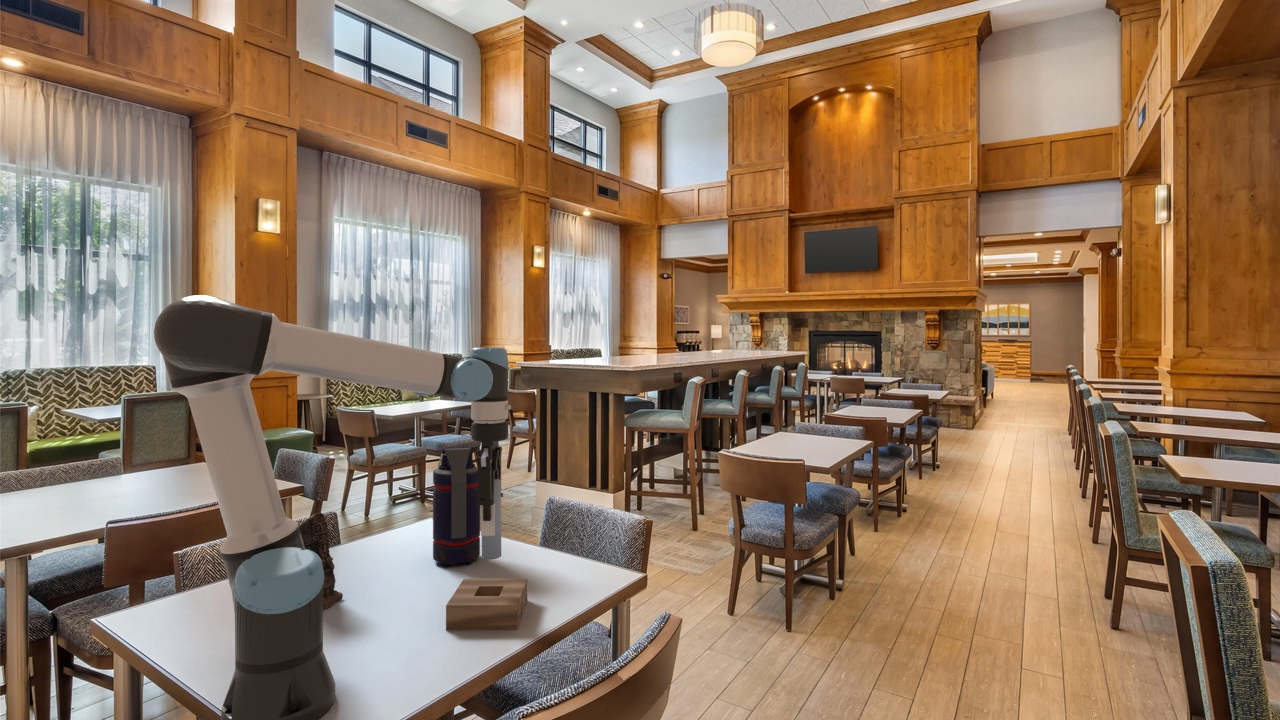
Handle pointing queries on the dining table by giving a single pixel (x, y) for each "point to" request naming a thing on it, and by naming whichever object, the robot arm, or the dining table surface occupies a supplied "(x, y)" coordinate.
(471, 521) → the grenade
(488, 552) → the pin
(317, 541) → the statue
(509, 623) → the socket block
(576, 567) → the dining table surface
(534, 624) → the dining table surface
